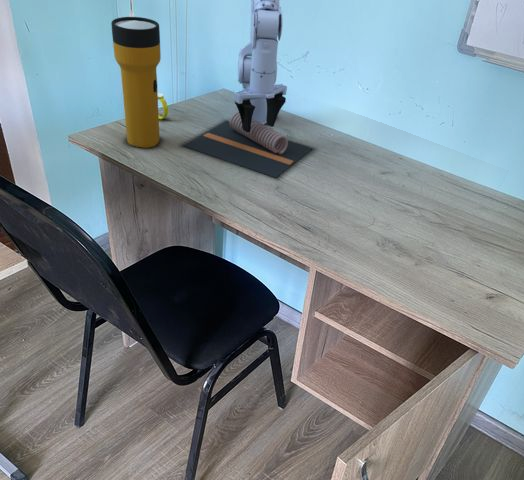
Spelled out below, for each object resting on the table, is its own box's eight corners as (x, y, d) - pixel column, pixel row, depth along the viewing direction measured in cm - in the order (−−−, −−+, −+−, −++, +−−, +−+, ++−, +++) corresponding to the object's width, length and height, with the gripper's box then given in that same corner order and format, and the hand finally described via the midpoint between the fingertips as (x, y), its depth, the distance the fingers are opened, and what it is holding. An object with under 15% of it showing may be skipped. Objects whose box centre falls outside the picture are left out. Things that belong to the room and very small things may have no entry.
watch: (146, 115, 142) (145, 92, 138) (154, 112, 144) (153, 89, 140) (163, 122, 140) (162, 99, 136) (170, 119, 142) (169, 96, 138)
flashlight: (121, 12, 117) (165, 19, 116) (131, 129, 135) (169, 136, 134) (103, 23, 110) (149, 30, 109) (116, 145, 128) (156, 153, 127)
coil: (290, 135, 130) (243, 110, 139) (277, 137, 127) (229, 111, 136) (287, 154, 133) (240, 128, 142) (273, 156, 130) (227, 129, 139)
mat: (226, 121, 144) (226, 120, 144) (312, 149, 136) (312, 148, 136) (183, 146, 131) (183, 145, 131) (275, 178, 123) (276, 177, 123)
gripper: (248, 79, 119) (244, 139, 128) (297, 71, 126) (290, 128, 135) (230, 69, 122) (227, 128, 132) (278, 61, 129) (273, 118, 139)
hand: (258, 128), depth 134 cm, fingers open, 7 cm apart
